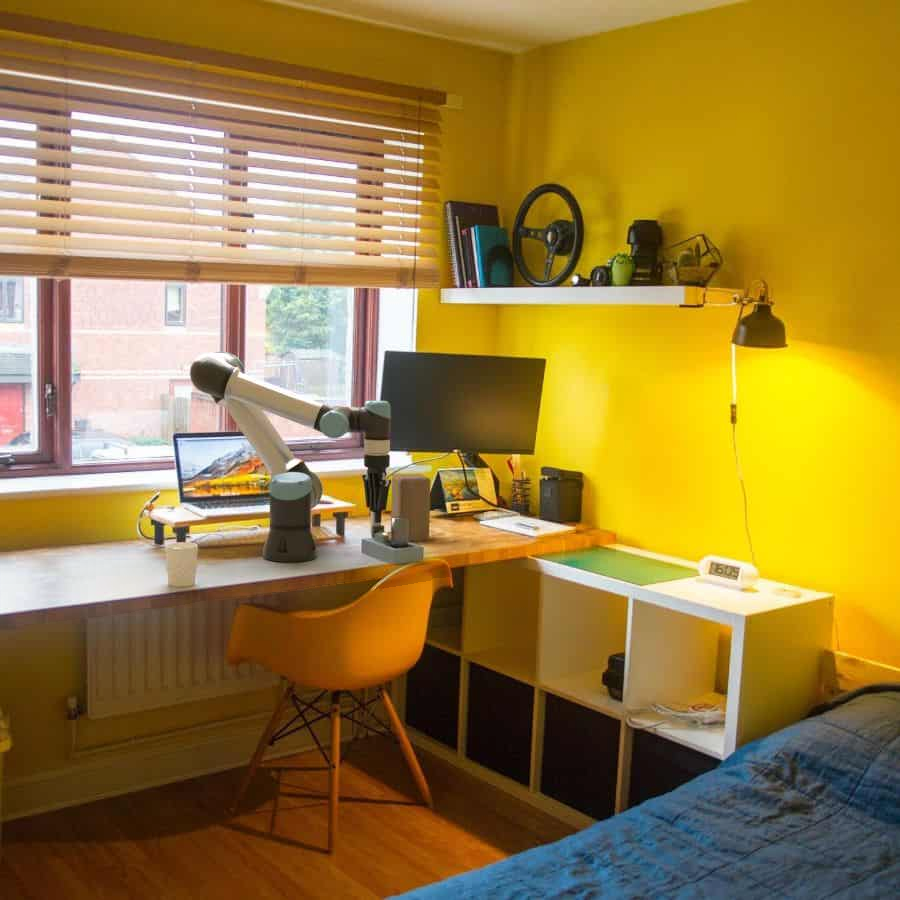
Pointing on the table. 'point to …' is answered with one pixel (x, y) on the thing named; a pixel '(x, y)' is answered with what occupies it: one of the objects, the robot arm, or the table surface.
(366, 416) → the robot arm
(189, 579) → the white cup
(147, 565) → the table surface
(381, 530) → the lock pin
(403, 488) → the wooden block
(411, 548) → the mount
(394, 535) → the spigot
